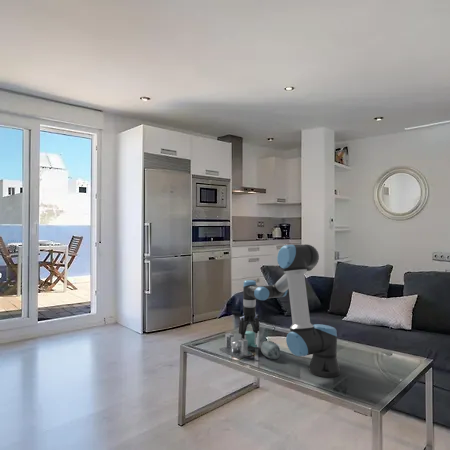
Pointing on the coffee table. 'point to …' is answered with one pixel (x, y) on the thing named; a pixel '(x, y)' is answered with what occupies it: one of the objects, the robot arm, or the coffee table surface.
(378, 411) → the coffee table surface
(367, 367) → the coffee table surface
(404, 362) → the coffee table surface
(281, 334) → the coffee table surface
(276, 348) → the grey green ovoid
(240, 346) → the pad
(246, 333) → the cap
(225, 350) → the grey metal fixture
